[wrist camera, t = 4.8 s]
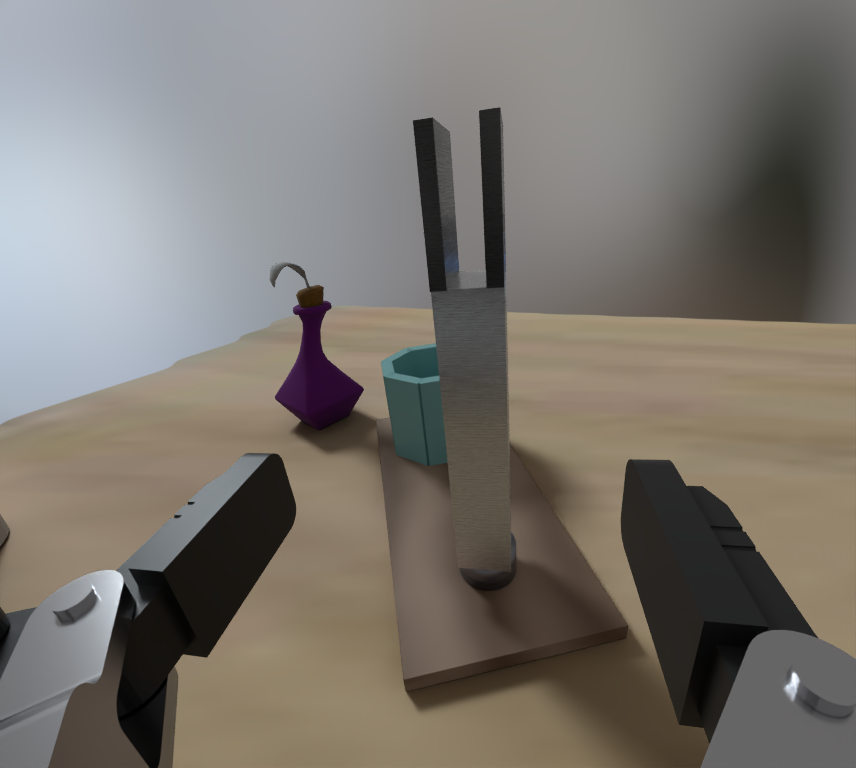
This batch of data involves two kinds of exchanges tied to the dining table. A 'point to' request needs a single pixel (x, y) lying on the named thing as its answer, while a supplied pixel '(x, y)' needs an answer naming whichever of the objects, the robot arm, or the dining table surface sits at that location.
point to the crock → (416, 404)
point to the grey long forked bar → (471, 353)
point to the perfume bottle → (315, 366)
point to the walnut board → (476, 609)
